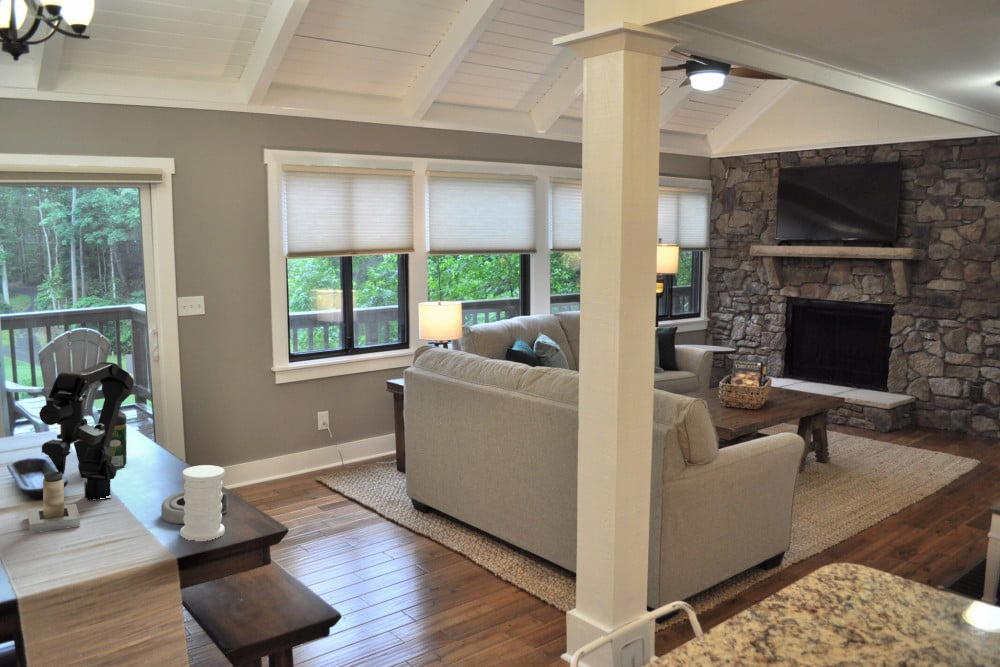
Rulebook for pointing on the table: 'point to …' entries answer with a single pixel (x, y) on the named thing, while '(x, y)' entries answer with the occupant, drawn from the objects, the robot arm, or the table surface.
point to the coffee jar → (119, 442)
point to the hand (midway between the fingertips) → (71, 469)
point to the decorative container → (203, 503)
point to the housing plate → (53, 519)
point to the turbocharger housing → (175, 505)
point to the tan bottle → (53, 495)
